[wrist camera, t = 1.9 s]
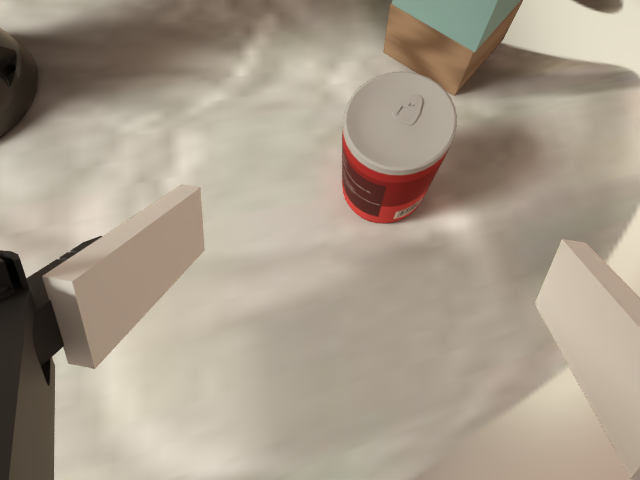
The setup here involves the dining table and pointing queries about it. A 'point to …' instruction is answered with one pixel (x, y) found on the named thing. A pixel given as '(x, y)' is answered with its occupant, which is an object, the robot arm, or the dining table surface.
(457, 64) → the walnut block
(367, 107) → the canned food
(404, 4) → the teal block
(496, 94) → the dining table surface
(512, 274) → the dining table surface
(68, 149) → the dining table surface
